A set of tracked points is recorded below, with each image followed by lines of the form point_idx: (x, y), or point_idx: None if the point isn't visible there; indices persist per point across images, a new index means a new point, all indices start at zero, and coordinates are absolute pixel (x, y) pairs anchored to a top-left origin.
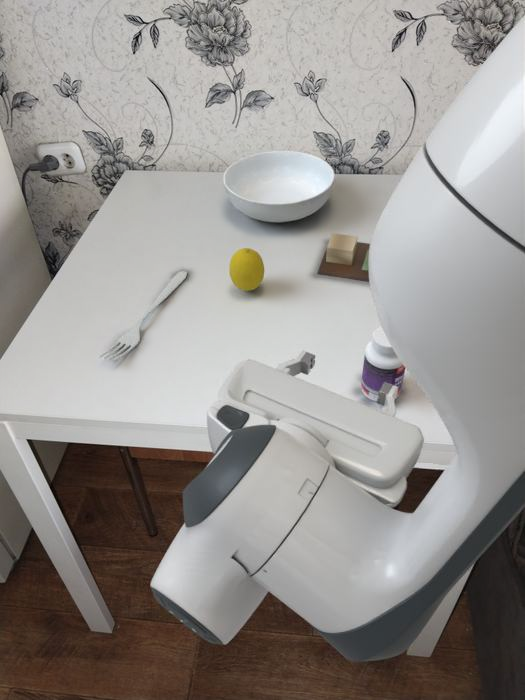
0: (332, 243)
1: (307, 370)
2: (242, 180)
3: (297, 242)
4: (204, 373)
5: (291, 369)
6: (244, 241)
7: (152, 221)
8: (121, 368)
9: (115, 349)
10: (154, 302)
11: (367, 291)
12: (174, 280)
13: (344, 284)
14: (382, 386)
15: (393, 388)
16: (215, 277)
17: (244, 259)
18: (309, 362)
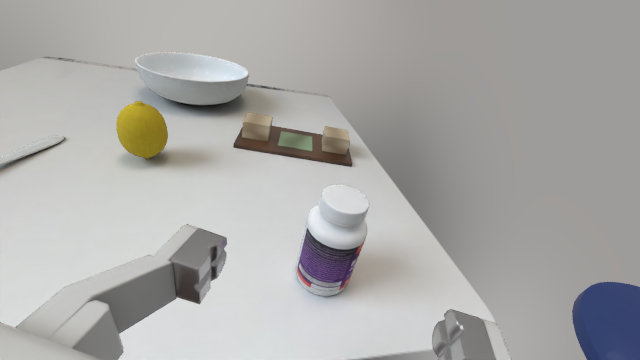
0: (248, 119)
1: (198, 291)
2: (161, 72)
3: (213, 122)
4: (22, 277)
5: (129, 298)
6: None
7: (43, 92)
8: None
9: None
10: None
11: (285, 164)
12: (38, 143)
13: (261, 157)
14: (333, 274)
15: (494, 334)
16: (105, 144)
17: (135, 113)
18: (205, 264)
